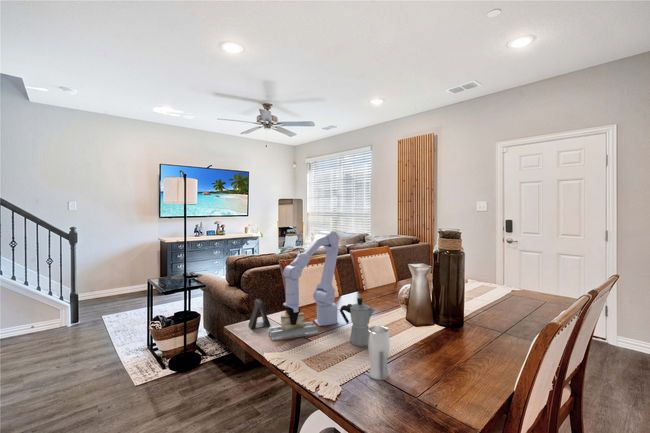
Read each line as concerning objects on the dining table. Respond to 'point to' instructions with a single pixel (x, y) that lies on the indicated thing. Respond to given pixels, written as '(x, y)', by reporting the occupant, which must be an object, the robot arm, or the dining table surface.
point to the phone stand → (254, 316)
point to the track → (292, 332)
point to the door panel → (287, 325)
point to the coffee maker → (358, 322)
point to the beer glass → (378, 351)
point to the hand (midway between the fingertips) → (292, 323)
